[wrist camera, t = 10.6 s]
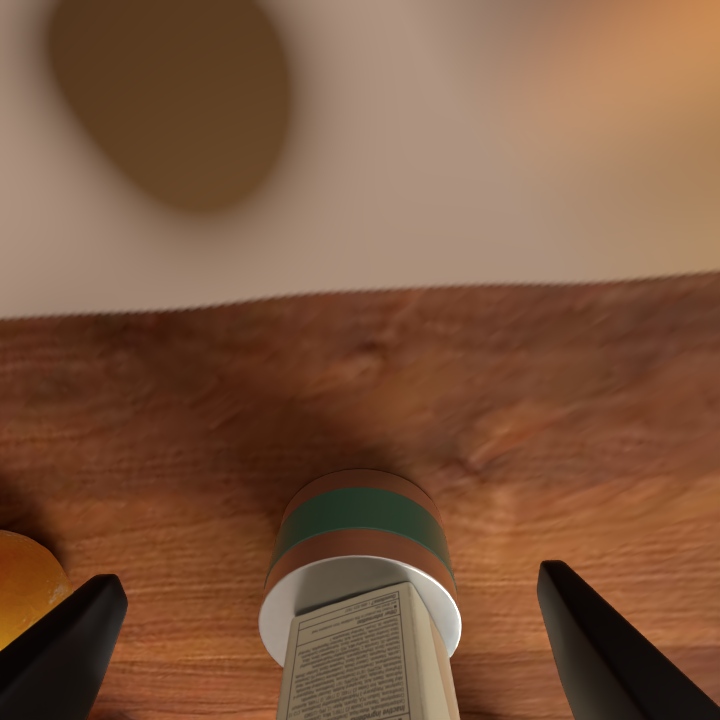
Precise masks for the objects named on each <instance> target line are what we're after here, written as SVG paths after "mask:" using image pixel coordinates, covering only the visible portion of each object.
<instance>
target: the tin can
mask: <svg viewBox="0 0 720 720" xmlns="http://www.w3.org/2000/svg"><path fill="white" fill-rule="evenodd" d="M404 582H409V583H411V584H412V585H413V586H414V588H415V590H416V591H417V593H418V595H419V597H420V598H421V600H422V602H423V603H424V605H425V607H426V609H427V611H428V612H429V614H430V616H431V618H432V620H433V622H434V624H435V626H436V627H437V630H438V632H439V634H440V635H441V637H442V640H443V642H444V644H445V646H446V648H447V651H448V656H449V658H450V657H451V656H452V655H453V653H454V651H455V649H456V648H457V646H458V643H459V640H460V637H461V630H462V619H461V614H460V609H459V604H458V599H457V588H456V583H455V579H454V574H453V569H452V564H451V559H450V555H449V550H448V545H447V541H446V537H445V535H444V531H443V526H442V522H441V518H440V515H439V513H438V510H437V508H436V507H435V505H434V503H433V502H432V500H431V499H430V498H429V497H428V496H427V495H426V494H425V493H424V492H423V491H422V490H421V489H420V488H418V487H417V486H416V485H414V484H412V483H411V482H409V481H407V480H405V479H403V478H401V477H399V476H396V475H394V474H391V473H387V472H383V471H378V470H370V469H351V470H343V471H338V472H334V473H331V474H327V475H324V476H322V477H320V478H318V479H316V480H314V481H312V482H311V483H309V484H307V485H306V486H305V487H303V488H302V489H301V490H300V491H299V492H298V493H297V494H296V495H295V496H294V497H293V498H292V499H291V501H290V502H289V504H288V505H287V507H286V510H285V512H284V514H283V518H282V522H281V526H280V530H279V532H278V534H277V538H276V542H275V546H274V550H273V553H272V557H271V561H270V565H269V569H268V573H267V577H266V581H265V587H264V594H263V598H262V602H261V606H260V610H259V614H258V627H259V634H260V637H261V640H262V642H263V644H264V646H265V648H266V650H267V651H268V653H269V654H270V655H271V656H272V658H273V659H274V660H275V661H276V662H277V663H278V664H279V665H280V666H282V667H283V668H284V663H285V656H286V650H287V644H288V637H289V631H290V625H291V621H292V619H293V618H294V617H298V616H301V615H304V614H307V613H310V612H313V611H315V610H317V609H320V608H323V607H326V606H329V605H332V604H336V603H339V602H342V601H345V600H348V599H351V598H354V597H357V596H360V595H363V594H366V593H369V592H372V591H375V590H379V589H383V588H387V587H390V586H394V585H398V584H400V583H404Z"/></svg>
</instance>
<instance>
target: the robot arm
mask: <svg viewBox="0 0 720 720" xmlns="http://www.w3.org/2000/svg"><path fill="white" fill-rule="evenodd" d="M537 596H538V601H539V605H540V608H541V612H542V615H543V619H544V623H545V626H546V630H547V633H548V637H549V641H550V644H551V648H552V651H553V655H554V659H555V662H556V666H557V669H558V673H559V676H560V680H561V683H562V686H563V688H564V691H565V694H566V697H567V699H568V702H569V705H570V707H571V710H572V712H573V715H574V718H575V720H720V707H719V706H718V705H717V704H716V703H715V702H714V701H712V700H711V699H710V698H709V697H708V696H707V695H706V694H705V693H704V692H703V691H702V690H701V689H700V688H699V687H697V686H696V685H695V684H694V683H693V682H692V681H691V680H690V679H689V678H688V677H687V676H686V675H685V674H684V673H683V672H681V671H680V670H679V669H678V668H677V667H676V666H675V665H674V664H673V663H672V662H671V661H670V660H669V659H668V658H666V657H665V656H664V655H663V654H662V653H661V652H660V651H659V650H658V649H657V648H656V647H655V646H654V645H653V644H651V643H650V642H649V641H648V640H647V639H646V638H645V637H644V636H643V635H642V634H641V633H640V632H639V631H638V630H637V629H635V628H634V627H633V626H632V625H631V624H630V623H629V622H628V621H627V620H626V619H625V618H624V617H623V616H622V615H620V614H619V613H618V612H617V611H616V610H615V609H614V608H613V607H612V606H611V605H610V604H609V603H608V602H607V601H605V600H604V599H603V598H602V597H601V596H600V595H599V594H598V593H597V592H596V591H595V590H594V589H593V588H592V587H591V586H589V585H588V584H587V583H586V582H585V581H584V580H583V579H582V578H581V577H580V576H579V575H578V574H577V573H576V572H574V571H573V570H572V569H571V568H570V567H569V566H568V565H567V564H566V563H565V562H563V561H561V560H545V561H542V563H541V565H540V570H539V577H538V584H537ZM127 607H128V601H127V597H126V594H125V592H124V590H123V587H122V585H121V582H120V580H119V578H118V576H117V575H115V574H99V575H96V576H94V577H92V578H91V579H90V580H88V581H87V582H86V583H85V584H83V585H82V586H81V587H80V588H78V589H77V590H76V591H75V592H73V593H72V594H71V595H70V596H68V597H67V598H66V599H65V600H63V601H62V602H61V603H60V604H58V605H57V606H56V607H55V608H53V609H52V610H51V611H50V612H48V613H47V614H46V615H45V616H43V617H42V618H41V619H40V620H38V621H37V622H36V623H35V624H33V625H32V626H31V627H30V628H28V629H27V630H26V631H25V632H23V633H22V634H21V635H20V636H18V637H17V638H16V639H15V640H13V641H12V642H11V643H10V644H8V645H7V646H6V647H5V648H3V649H2V650H1V651H0V720H86V719H87V717H88V715H89V713H90V710H91V708H92V706H93V704H94V701H95V699H96V697H97V694H98V692H99V689H100V687H101V684H102V681H103V679H104V676H105V673H106V670H107V667H108V664H109V661H110V658H111V655H112V653H113V650H114V647H115V644H116V641H117V638H118V635H119V632H120V629H121V626H122V624H123V621H124V618H125V615H126V612H127Z"/></svg>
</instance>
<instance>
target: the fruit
mask: <svg viewBox="0 0 720 720" xmlns="http://www.w3.org/2000/svg"><path fill="white" fill-rule="evenodd" d="M72 593H73V588H72V584H71V582H70V581H69V579H68V577H67V575H66V574H65V572H64V570H63V569H62V567H61V565H60V564H59V562H58V561H57V559H56V558H55V557H54V556H53V554H52V553H51V552H50V551H49V550H48V549H47V548H45V547H44V546H42V545H40V544H39V543H37V542H36V541H35V540H32V539H30V538H29V537H27V536H24V535H21V534H18V533H14V532H10V531H5V530H0V651H1V650H2V649H3V648H5V647H6V646H7V645H8V644H10V643H11V642H12V641H13V640H15V639H16V638H17V637H18V636H20V635H21V634H22V633H23V632H25V631H26V630H27V629H28V628H30V627H31V626H32V625H33V624H35V623H36V622H37V621H38V620H40V619H41V618H42V617H43V616H45V615H46V614H47V613H48V612H50V611H51V610H52V609H53V608H55V607H56V606H57V605H58V604H60V603H61V602H62V601H63V600H65V599H66V598H67V597H68V596H70V595H71V594H72Z"/></svg>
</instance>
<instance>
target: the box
mask: <svg viewBox="0 0 720 720" xmlns="http://www.w3.org/2000/svg"><path fill="white" fill-rule="evenodd" d="M276 720H460V717H459V711H458V705H457V700H456V694H455V688H454V683H453V678H452V673H451V667H450V661H449V656H448V651H447V648H446V646H445V644H444V642H443V640H442V637H441V635H440V634H439V632H438V630H437V627H436V626H435V624H434V622H433V620H432V618H431V616H430V614H429V612H428V611H427V609H426V607H425V605H424V603H423V602H422V600H421V598H420V597H419V595H418V593H417V591H416V590H415V588H414V586H413V585H412V584H411V583H409V582H404V583H400V584H398V585H394V586H390V587H387V588H383V589H379V590H375V591H372V592H369V593H366V594H363V595H360V596H357V597H354V598H351V599H348V600H345V601H342V602H339V603H336V604H332V605H329V606H326V607H323V608H320V609H317V610H315V611H313V612H310V613H307V614H304V615H301V616H298V617H294V618H293V619H292V621H291V625H290V631H289V637H288V644H287V650H286V656H285V663H284V669H283V676H282V682H281V689H280V696H279V702H278V709H277V716H276Z"/></svg>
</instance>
